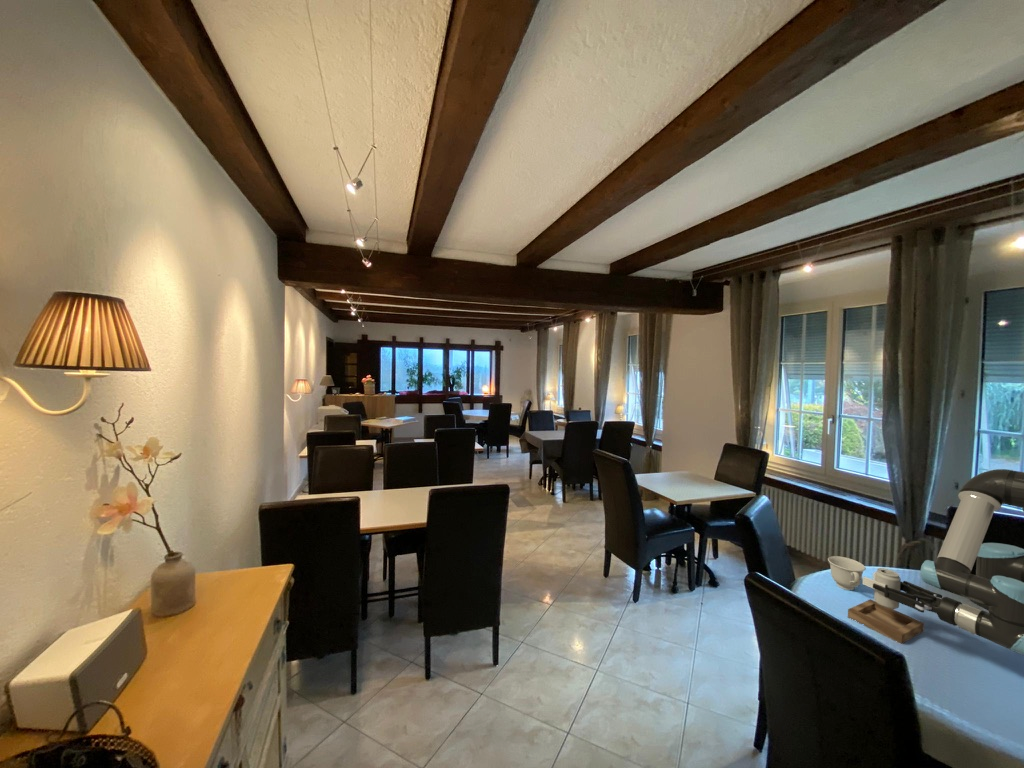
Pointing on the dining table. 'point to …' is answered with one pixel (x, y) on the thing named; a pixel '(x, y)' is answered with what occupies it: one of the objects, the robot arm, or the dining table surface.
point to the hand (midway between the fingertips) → (868, 578)
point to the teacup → (846, 572)
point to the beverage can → (892, 581)
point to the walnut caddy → (886, 621)
